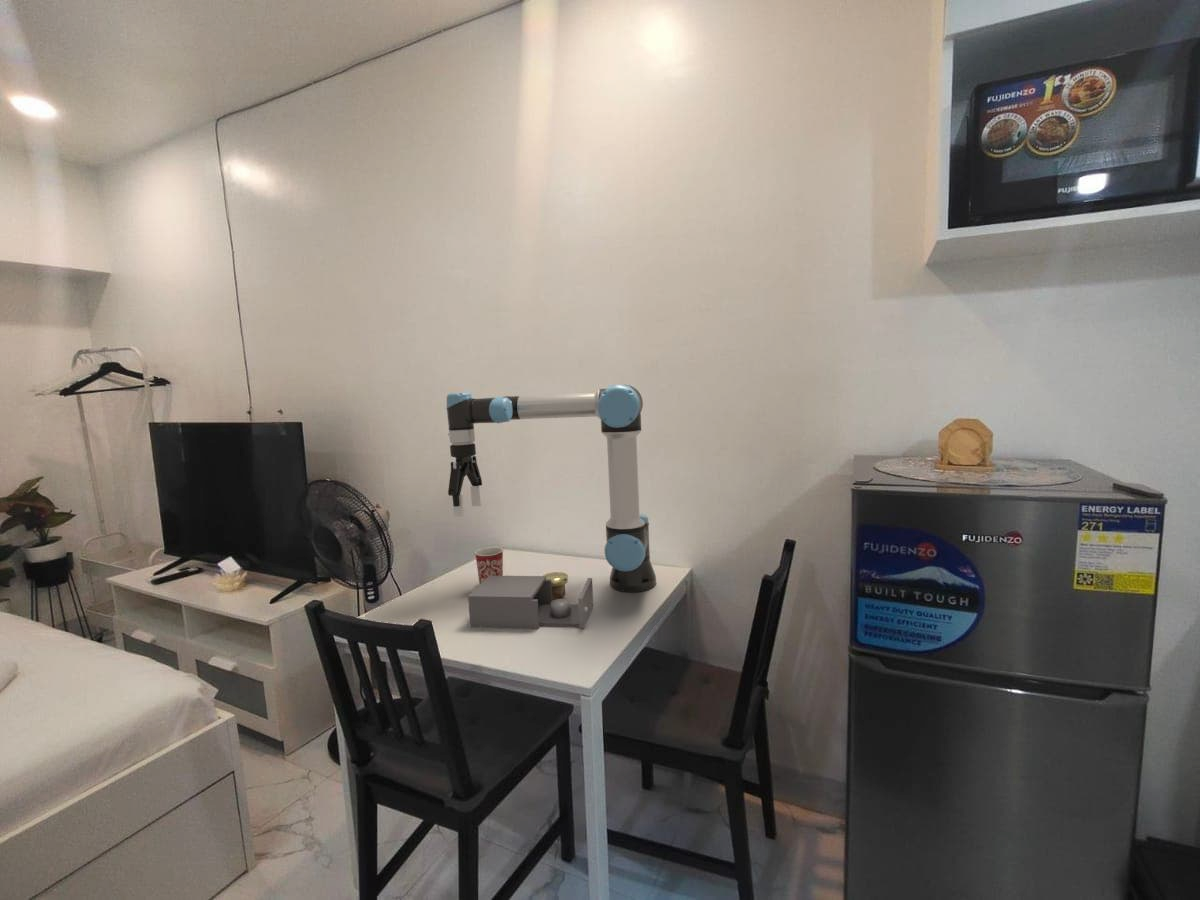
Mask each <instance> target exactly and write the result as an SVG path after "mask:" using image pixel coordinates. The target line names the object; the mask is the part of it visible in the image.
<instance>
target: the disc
mask: <svg viewBox="0 0 1200 900" xmlns="http://www.w3.org/2000/svg"><path fill="white" fill-rule="evenodd" d="M542 576H546V579H551V583H552V587H554V586H561V585H564V584H565V585H566V584H567V583H568V581H569V577H568V573H565V572H561V571H560V572H559V571H558V572H557V571H556V572H555V571H554V572H553V571H552V572H548V573H545V574H543V575H542Z"/></svg>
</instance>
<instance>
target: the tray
mask: <svg viewBox="0 0 1200 900" xmlns="http://www.w3.org/2000/svg"><path fill="white" fill-rule="evenodd" d="M593 588H594V587H593V577H588V578H587V579H586V581H585V583H584V585H583V587H582V589H581V591H580V594H579V596H578V597H577V604H573V603H572V604H571V600H569V599H567V598H563V599H556V600H553V601H552V602H551V604H538V611H539V626H559V627H560V626H562V627H563V626H564V627H565V626H566V627H578V628H579V629H583V630H584V629H585V627H586V625H587V622H588V620H589V618H590V614H591V613H592V610H593V608H594V592H593V591H594V589H593Z"/></svg>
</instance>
